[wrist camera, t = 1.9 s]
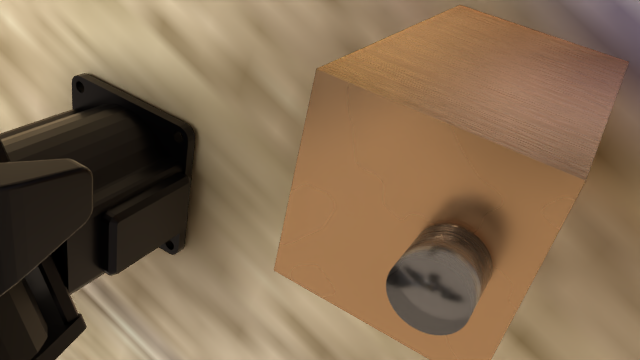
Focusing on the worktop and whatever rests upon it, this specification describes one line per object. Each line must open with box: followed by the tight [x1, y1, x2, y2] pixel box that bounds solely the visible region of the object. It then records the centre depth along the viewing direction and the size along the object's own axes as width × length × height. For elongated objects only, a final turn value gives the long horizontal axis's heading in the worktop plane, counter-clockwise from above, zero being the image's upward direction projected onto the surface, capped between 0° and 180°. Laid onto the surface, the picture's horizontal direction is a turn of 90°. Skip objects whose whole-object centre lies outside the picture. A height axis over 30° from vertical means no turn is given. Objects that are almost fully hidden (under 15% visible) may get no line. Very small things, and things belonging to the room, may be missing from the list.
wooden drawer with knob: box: [274, 5, 629, 360], centre depth 13 cm, size 5×5×9 cm
